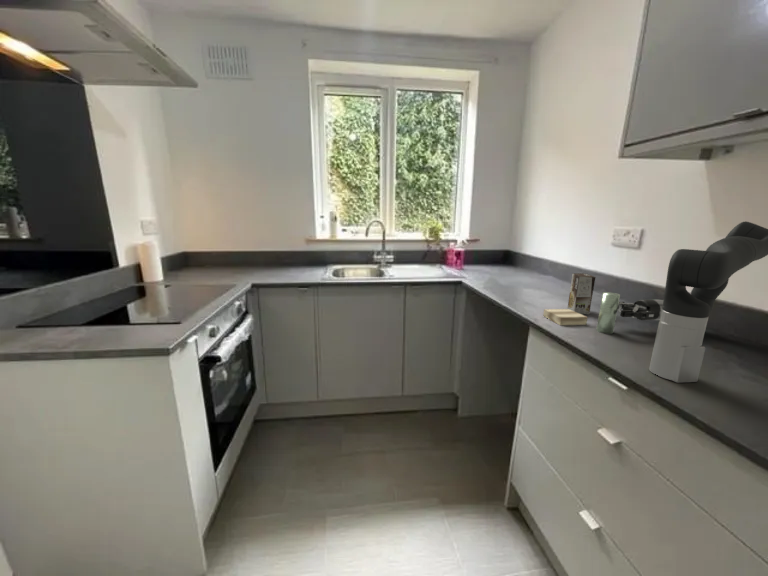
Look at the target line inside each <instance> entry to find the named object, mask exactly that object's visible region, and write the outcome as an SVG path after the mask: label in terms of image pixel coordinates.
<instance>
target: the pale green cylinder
mask: <svg viewBox="0 0 768 576" xmlns="http://www.w3.org/2000/svg"><path fill="white" fill-rule="evenodd" d="M620 298H621V294H620V293H616V292H608V291H605V292H602V294H601V301H600V306H599V313H598V318H597V324H596V329H595V330H596V332H597V333H601V334H605V335H607V334H608V335H613V333H614V331H615V330H614V329H615V325H616V319H617V314H618V311H617V309H618V304H619V302H620Z"/></svg>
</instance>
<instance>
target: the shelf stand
mask: <svg viewBox="0 0 768 576" xmlns="http://www.w3.org/2000/svg"><path fill="white" fill-rule="evenodd" d="M543 316H544V317H543ZM542 317H543V318H545V317H546V318H545V319H547V318H548V319H547V320H549V319H550V320H549V321H551V322H553V323H555V324H557V325H559V326H577V325H579V326H582V325H583V326H586V325H587V323H588V318H589V317H588V316H586V315H585V314H579V313H577V312H575V311H572V310H570V309H568V308H551V309H550V308H548V309H547V308H544V309H543V314H542Z"/></svg>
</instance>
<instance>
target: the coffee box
mask: <svg viewBox="0 0 768 576" xmlns="http://www.w3.org/2000/svg"><path fill="white" fill-rule="evenodd" d="M595 283H596V276H594V275H591V274H588V273H584V272H583V273H580V272H579V273H573V272H572V275H571V282H570V290H569V296H568V303H567V309H568V308H569V309H570V310H572V311H575V312H577V313H579V314H581V315H590V313H591V305H592V300H593V294H594V288H595Z"/></svg>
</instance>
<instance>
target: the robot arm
mask: <svg viewBox="0 0 768 576" xmlns="http://www.w3.org/2000/svg"><path fill="white" fill-rule="evenodd" d="M767 256H768V228H767V227H763V226H761V225H758V224H756V223H753V222H749V221H742V222H739V223H738V224H736V225H735V226H734V227H732V228H731V230H730V231H729V232H728V233H727V234H726V236H725V237H723V238H720V239H719V240H717V241H715V242H713V243H711V244H710V245H709V246H708V247H707V248H706V250H702V249H701V250H699V249H690V248H688V249H687V248H680V249H677V250H675V252H674V253H673V254H672V255H671V257H670V259H669V262H668V266H667V267H668V268H667V273H666V282H665V288H664V294H663V299H639V300H636V301H635V302H634V303H631V302H629V303H626V302H625V301H619V304H618V309H617V313H620V317H621V318H632V319H637V320H639V321H658V325H657V330H656V333H655V339H654V344H653V349H652V353H651V359H650V363H649V368H648V370H649V371H650V372H651V373H652V374H654V375H655V374H656V376H657V375H658V377H661V378H662V379H666V380H670V381H673V382H675V383H677V384H678V383H696V382H698V380H699V375H700V372H701V368H702V364H703V359H704V356H705V352H706V347H705V346H703V341H704V337H705V332H706V328H707V325H708V321H709V317H710V315H711V312H712V311H713V308H714V304H715V302H716V299H718V297H719V296H720V295H721V294H722V293H723V292H724V290H725V289H726V288H727V286H728V284H729V280H730V278H731V277H732V276H733V274H735V273H737V272H739V271H740V270H742V269H744V268H746V267H747V266H749V265H750V264H751V263H753V262H755V261H759V260H762V259H763V258H765V257H767ZM687 287H688V288H689V287H690V288H692V289H691V292H689V291H688V290H687Z"/></svg>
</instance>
